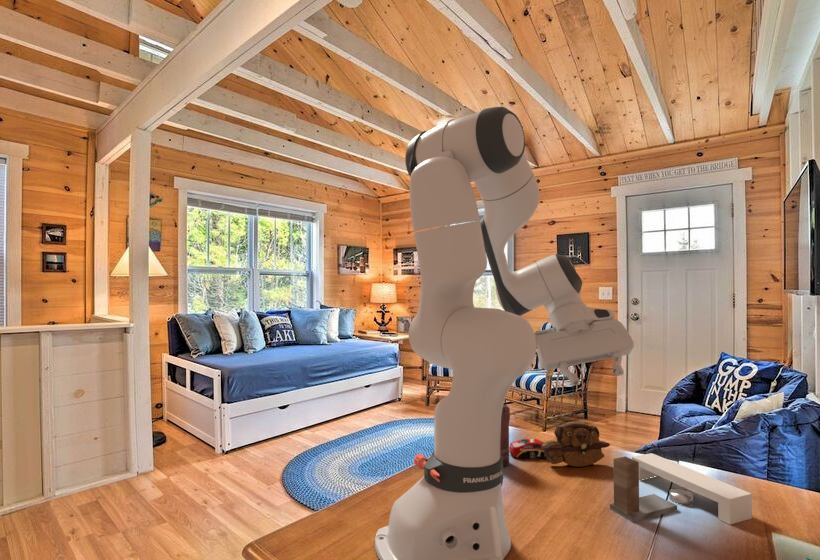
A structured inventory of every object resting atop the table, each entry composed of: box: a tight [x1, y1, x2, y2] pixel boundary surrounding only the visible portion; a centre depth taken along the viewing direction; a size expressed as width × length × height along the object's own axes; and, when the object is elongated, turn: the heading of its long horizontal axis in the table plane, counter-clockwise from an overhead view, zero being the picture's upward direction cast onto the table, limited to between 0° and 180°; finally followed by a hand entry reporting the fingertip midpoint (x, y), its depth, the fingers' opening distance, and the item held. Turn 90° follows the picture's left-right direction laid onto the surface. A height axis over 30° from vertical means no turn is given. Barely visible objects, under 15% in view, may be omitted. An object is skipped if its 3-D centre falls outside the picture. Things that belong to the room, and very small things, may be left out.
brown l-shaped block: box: [609, 456, 678, 523], centre depth 83 cm, size 12×5×10 cm, turn 111°
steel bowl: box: [668, 488, 694, 506], centre depth 87 cm, size 4×4×2 cm
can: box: [500, 403, 511, 468], centre depth 106 cm, size 6×6×14 cm
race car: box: [509, 438, 547, 460], centre depth 111 cm, size 13×5×4 cm, turn 89°
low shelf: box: [631, 452, 753, 525], centre depth 89 cm, size 6×21×4 cm, turn 21°
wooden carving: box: [541, 421, 611, 468], centre depth 104 cm, size 16×5×10 cm, turn 101°
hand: (597, 378), depth 92 cm, fingers open, 8 cm apart
